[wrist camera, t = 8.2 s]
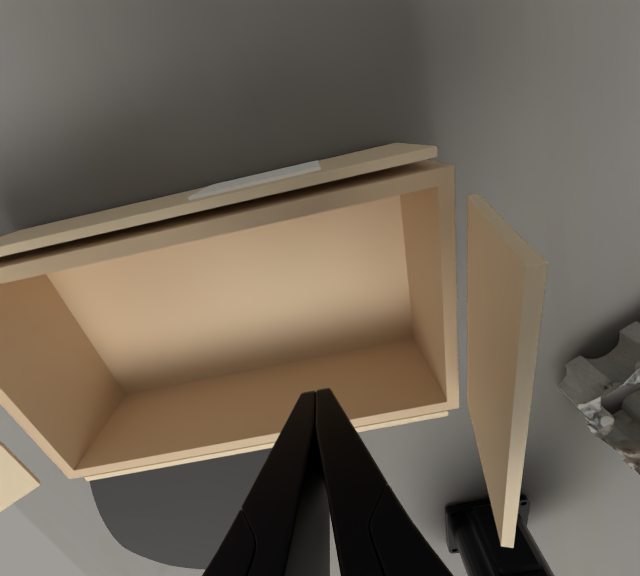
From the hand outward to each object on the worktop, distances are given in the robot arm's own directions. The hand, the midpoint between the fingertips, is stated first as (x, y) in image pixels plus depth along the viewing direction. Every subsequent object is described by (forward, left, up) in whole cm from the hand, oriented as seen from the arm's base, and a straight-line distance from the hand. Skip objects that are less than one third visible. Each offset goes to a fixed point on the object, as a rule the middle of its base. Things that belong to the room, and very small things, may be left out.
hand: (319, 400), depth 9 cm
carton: (0, +4, -8) cm, 9 cm away
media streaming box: (-14, +10, -9) cm, 19 cm away
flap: (0, -5, -3) cm, 6 cm away
